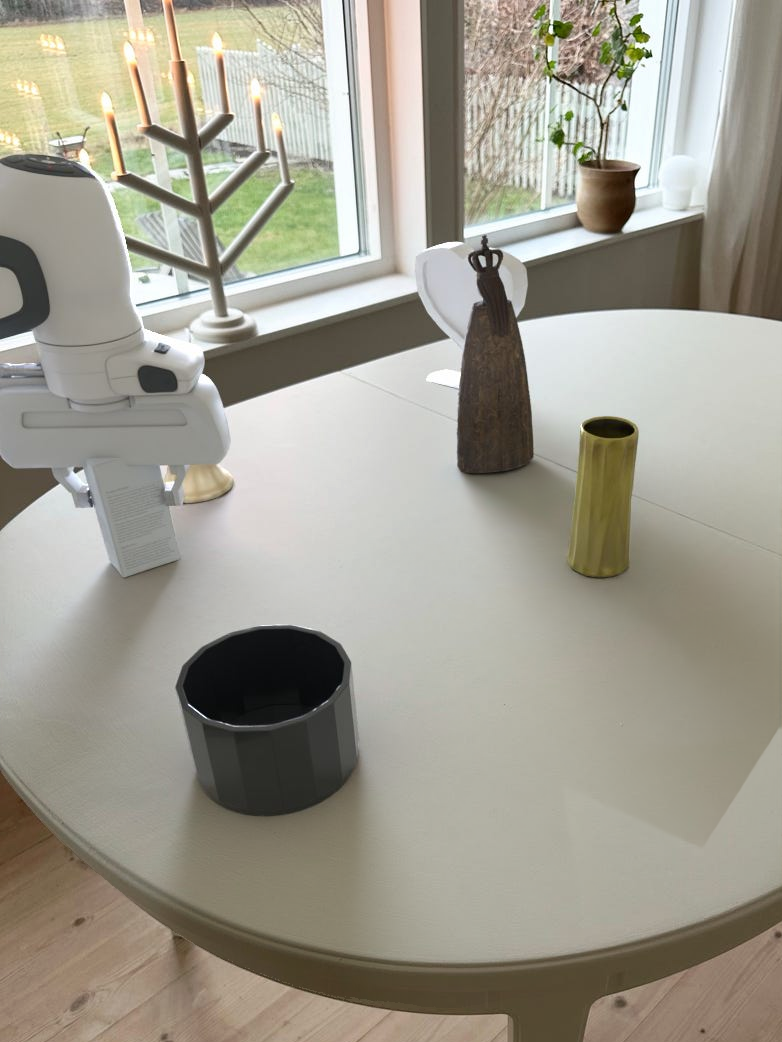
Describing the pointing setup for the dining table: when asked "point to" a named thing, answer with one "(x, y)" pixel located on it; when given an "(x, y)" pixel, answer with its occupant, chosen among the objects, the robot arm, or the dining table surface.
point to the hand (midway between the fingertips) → (131, 504)
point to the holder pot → (270, 718)
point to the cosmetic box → (132, 514)
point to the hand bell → (202, 482)
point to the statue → (493, 379)
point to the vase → (603, 497)
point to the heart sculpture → (460, 291)
